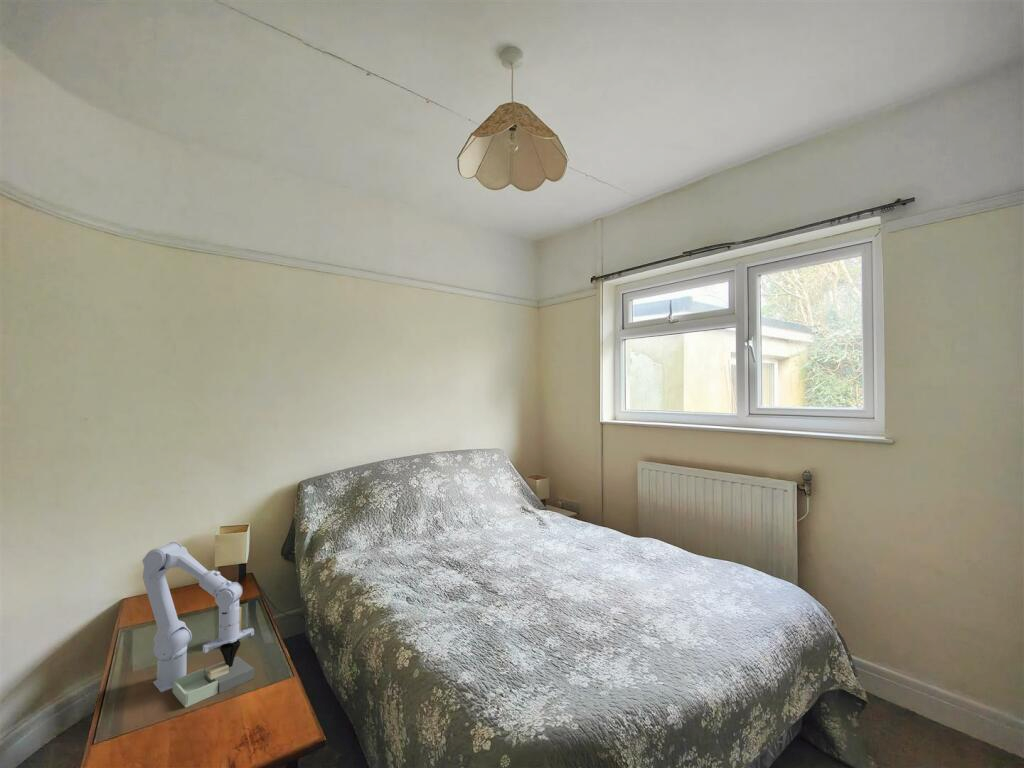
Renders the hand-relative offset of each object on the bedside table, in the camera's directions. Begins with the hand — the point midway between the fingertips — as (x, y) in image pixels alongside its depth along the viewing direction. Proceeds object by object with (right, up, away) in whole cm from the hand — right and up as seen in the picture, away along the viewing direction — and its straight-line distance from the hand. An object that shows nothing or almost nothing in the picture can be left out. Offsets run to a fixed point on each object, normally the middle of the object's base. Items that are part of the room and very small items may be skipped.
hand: (229, 665), depth 148 cm
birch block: (-2, 0, -3) cm, 4 cm away
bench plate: (0, -4, 0) cm, 4 cm away
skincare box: (-15, -7, +25) cm, 30 cm away
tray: (-6, -4, -8) cm, 10 cm away
